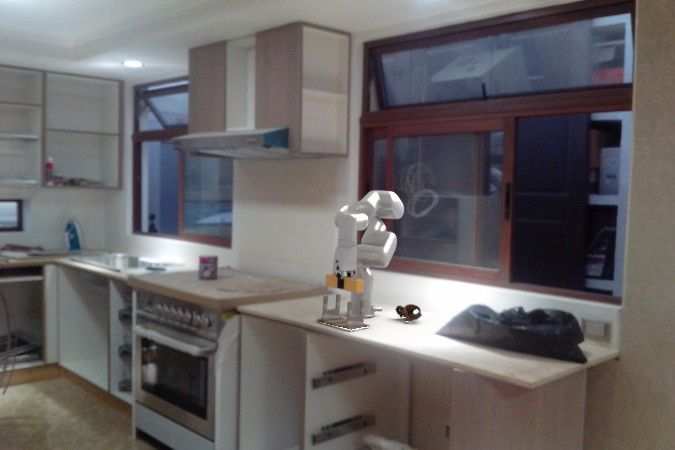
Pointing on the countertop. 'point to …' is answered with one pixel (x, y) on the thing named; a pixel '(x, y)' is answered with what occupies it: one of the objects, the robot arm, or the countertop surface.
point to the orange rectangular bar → (346, 283)
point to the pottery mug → (408, 312)
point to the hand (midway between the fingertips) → (344, 287)
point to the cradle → (333, 317)
